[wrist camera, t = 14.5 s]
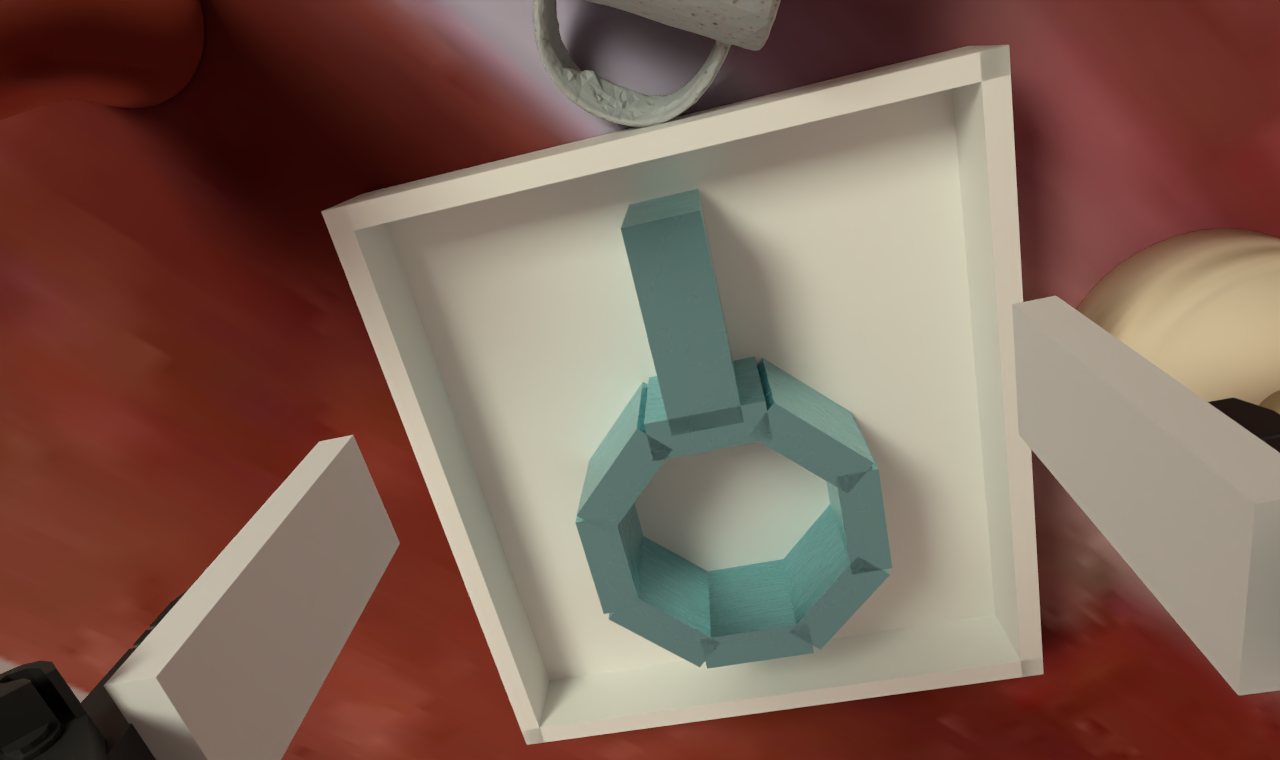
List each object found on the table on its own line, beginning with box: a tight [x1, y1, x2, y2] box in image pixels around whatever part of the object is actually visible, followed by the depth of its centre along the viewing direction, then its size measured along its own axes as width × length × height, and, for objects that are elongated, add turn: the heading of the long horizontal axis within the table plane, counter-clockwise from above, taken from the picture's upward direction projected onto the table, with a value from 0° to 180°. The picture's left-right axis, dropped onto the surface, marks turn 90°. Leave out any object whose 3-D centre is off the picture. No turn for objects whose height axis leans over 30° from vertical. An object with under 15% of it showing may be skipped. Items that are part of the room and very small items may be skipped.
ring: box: [575, 189, 892, 669], centre depth 28 cm, size 17×10×4 cm, turn 13°
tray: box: [321, 45, 1043, 745], centre depth 29 cm, size 23×21×4 cm
